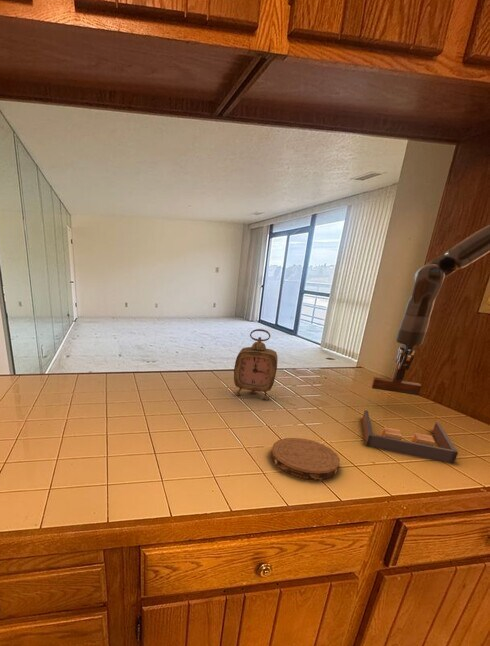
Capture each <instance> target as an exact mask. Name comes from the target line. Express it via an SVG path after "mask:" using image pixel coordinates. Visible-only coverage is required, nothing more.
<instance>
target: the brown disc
mask: <svg viewBox="0 0 490 646" xmlns="http://www.w3.org/2000/svg"><path fill="white" fill-rule="evenodd" d="M270 460H271V463H272V465H273V466H274V467H275V468H276V469H277V470H279V471H280V472H282V473H283V474H285V475H287V476H290V477H292V478H294V479H298V480H301V481H305V482H316V483H317V482H327V481H328V480H331V479H334V478H335V476H336V475H338V472H339V467H340V457H339V455H338V453H336V452H335V451H334V450H333V449H332V448H331V447H329V446H327V445H325V444H323V443H320V442H318V441H315V440H312V439H307V438H302V437H300V438H299V437H285V438H282V439H278V440H277V441H276V442H273V445H272V448H271V453H270Z"/></svg>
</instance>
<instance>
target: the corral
mask: <svg viewBox="0 0 490 646" xmlns="http://www.w3.org/2000/svg"><path fill="white" fill-rule="evenodd" d="M361 421H362V428H363V435H364V441H365V446H366V447H369V448H374V449H375V448H376V449H379V450H385V451H390V452H394V453H399V454H400V453H401V454H403V455H409V456H414V457H419V458H425V459H428V460H434V461H438V462H444V463H449V464H455V461H456V459H457V456H458V454H459V451H458V450H457V449H456V446H455V445H454V444H453V442H452V440H451V439H450V437H449V435H448V434H447V432H446V431H445V429H444V428H443V425H442V424H441V423H440V422H437V421H435V423H434V425H433V429H432V432H431V433H432V434H433V437H434V438H435V440H436V441H437V443H438V445H439V446H435V445H434V446H429V445H424V444H419V443H414V442H412V441H407V440H402V439H401V440H398V439H393V438H388V437H382V435H377V434H373V430H372V424H371V418H370V414H369V410H364V411H363V415H362V418H361Z"/></svg>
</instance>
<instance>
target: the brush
mask: <svg viewBox="0 0 490 646" xmlns="http://www.w3.org/2000/svg"><path fill="white" fill-rule="evenodd" d="M398 366H399V364H398V365H397V366H396V367H397V368H396V367H395V370H396V371H394V374H395V375H394V374H393V378H392V379H391V378H383V377H376V376H373V379H372V382H371V389H372V390H379V391H380V390H381V391H387V392H393V393H400V394H406V395H414V396H419V395H420V393H421V389H422V383H419V382H412V381H405V380H402V381H400V380H396V379H395V377H396V374H397V371H398ZM403 366H406V365H403Z"/></svg>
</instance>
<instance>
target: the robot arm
mask: <svg viewBox="0 0 490 646" xmlns="http://www.w3.org/2000/svg"><path fill="white" fill-rule="evenodd" d="M489 253H490V224H488V225H485V226H484V227H482V228H480V229H478V230H477V231H475V232H473V233H472V234H470V235H469V236H466V238H464V239H463V240H461V241H460V242H458V243H457V244H455V245H453V246H452V247H451V248H449V249H448V250H447V251H445V252H444V253H442V254H439V256H437V257H435V258H433V259H431V260H430V261H428V262H426V263H425V264H424V265H422V266H421V267H419V268H418V269H417V271H416V272H415V274H414V278H413V279H414V285H413V289H412V293H411V296H410V297H409V299H408V301H407V304H406V307H405V311H404V314H403V316H402V319H401V321H400V326H399V328H398V332H397V336H396V343H398V344H401V346H399V347H398V350H397V356H396V360H395V371H396V368H397V365H398V364H399V366H398V371H397V374H396V377H395V379H396V380H400V381H404V378H405V375H406V371H408V370H410V367H411V364H412V363H413V360H414V358H415V353H416V351H415V348H414V347H415V346H421V345H423V344H424V341H425V338H426V334H427V332H428V328H429V325H430V321H431V315H432V313H433V310H434V306H435V302H436V299H437V297H438V294H439V293H440V291H441V288H442V285H443V283H444V280H445V278H447V277H449V276H451V274H453V273H455V272H456V271H458V270H461V269H464V268H466V267H468V266H469V265H471V264H473V263H474V262H476V261H477V260H479V259H481V258H482V257H484V256H485V255H487V254H489ZM403 365H406V366H403ZM395 371H394V372H395ZM394 375H395V373H394V374H393V376H394Z"/></svg>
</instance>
